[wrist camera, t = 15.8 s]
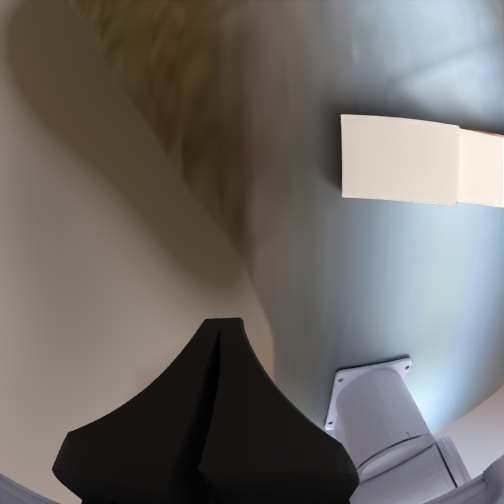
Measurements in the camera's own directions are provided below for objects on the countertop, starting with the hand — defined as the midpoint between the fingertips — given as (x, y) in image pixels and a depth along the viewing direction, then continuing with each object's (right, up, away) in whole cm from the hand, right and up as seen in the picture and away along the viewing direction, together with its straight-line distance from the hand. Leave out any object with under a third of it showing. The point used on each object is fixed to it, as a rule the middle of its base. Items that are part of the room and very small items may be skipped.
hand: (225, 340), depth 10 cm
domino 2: (+12, +9, +6) cm, 16 cm away
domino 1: (+7, +9, +6) cm, 13 cm away
